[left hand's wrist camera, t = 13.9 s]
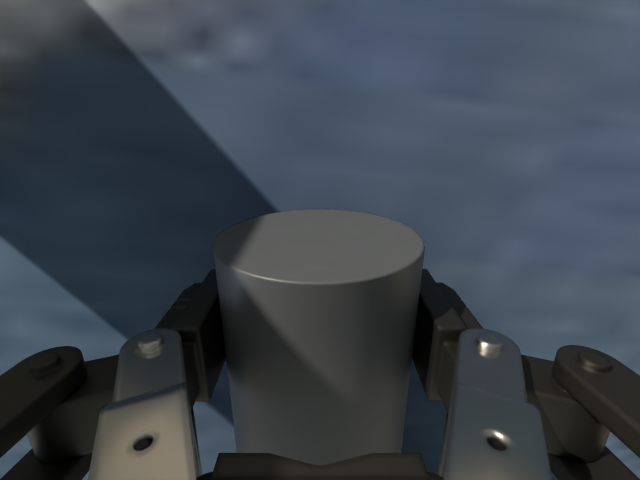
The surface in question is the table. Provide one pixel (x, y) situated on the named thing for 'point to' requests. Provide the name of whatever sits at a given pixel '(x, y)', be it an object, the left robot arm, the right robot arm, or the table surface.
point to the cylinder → (319, 331)
